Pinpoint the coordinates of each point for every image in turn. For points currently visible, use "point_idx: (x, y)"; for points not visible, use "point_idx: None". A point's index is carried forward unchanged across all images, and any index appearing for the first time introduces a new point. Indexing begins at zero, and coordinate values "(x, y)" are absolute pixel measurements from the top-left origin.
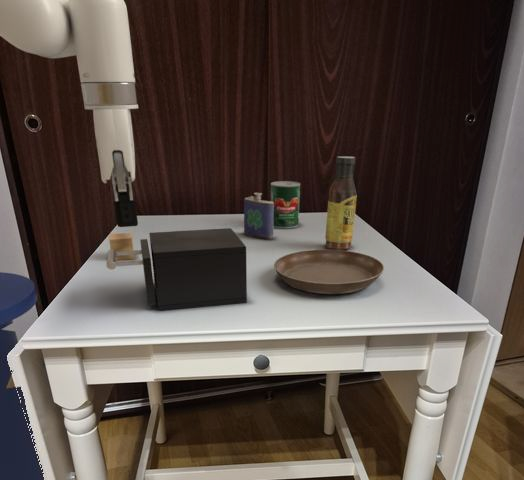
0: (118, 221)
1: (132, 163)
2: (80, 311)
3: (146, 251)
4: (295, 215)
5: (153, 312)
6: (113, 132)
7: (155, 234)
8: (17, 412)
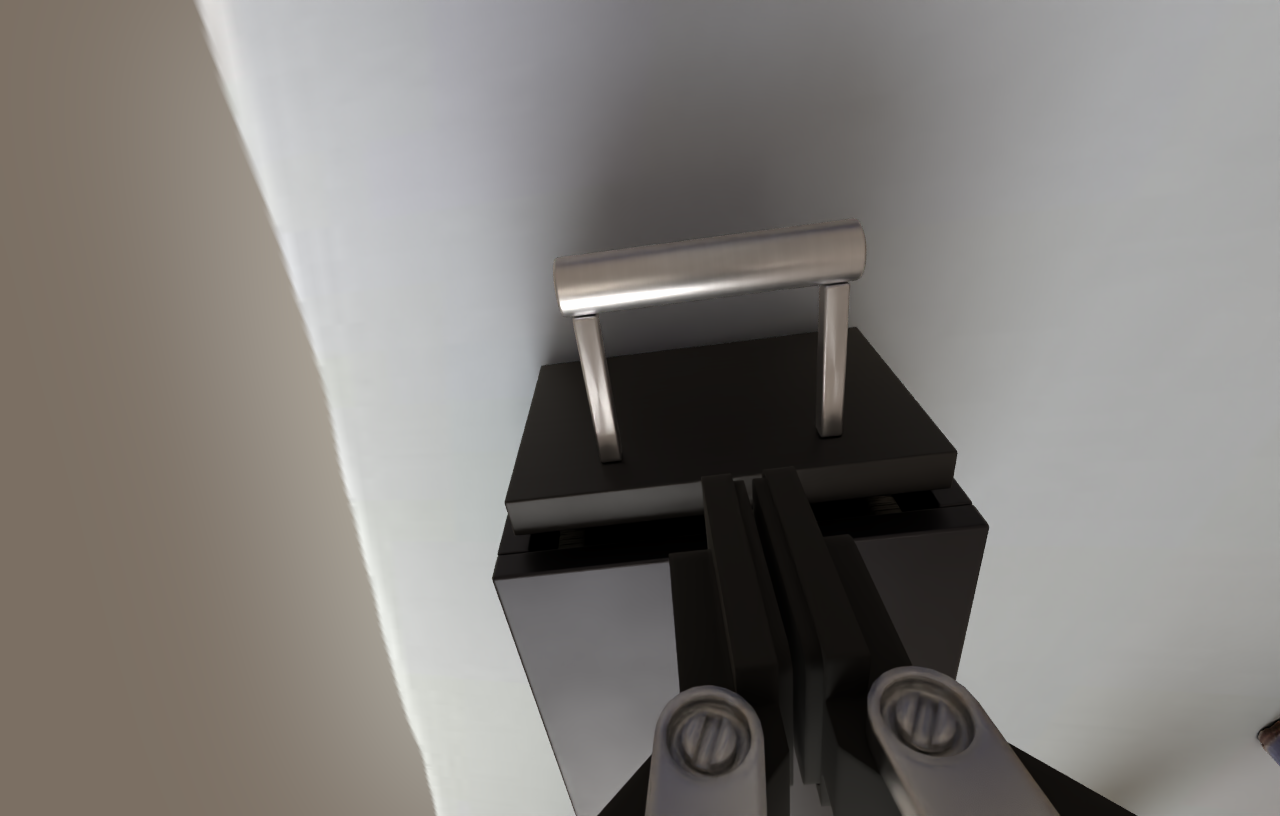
0: (707, 511)
1: None
2: (546, 10)
3: (645, 509)
4: None
5: (524, 372)
6: None
7: (923, 561)
8: None
